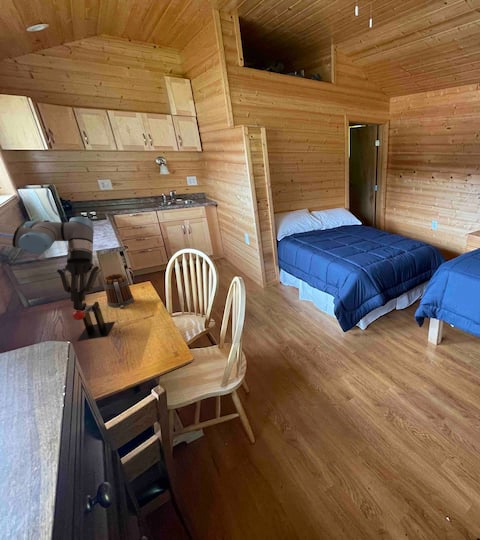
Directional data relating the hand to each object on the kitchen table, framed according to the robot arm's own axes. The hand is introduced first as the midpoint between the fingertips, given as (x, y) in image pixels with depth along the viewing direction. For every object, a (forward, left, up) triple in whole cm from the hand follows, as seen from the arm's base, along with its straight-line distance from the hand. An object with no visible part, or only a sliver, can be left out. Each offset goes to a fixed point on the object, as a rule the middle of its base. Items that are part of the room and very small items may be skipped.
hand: (77, 309), depth 113 cm
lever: (+1, +4, -6) cm, 7 cm away
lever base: (+2, +10, -17) cm, 20 cm away
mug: (+10, +32, -18) cm, 38 cm away
